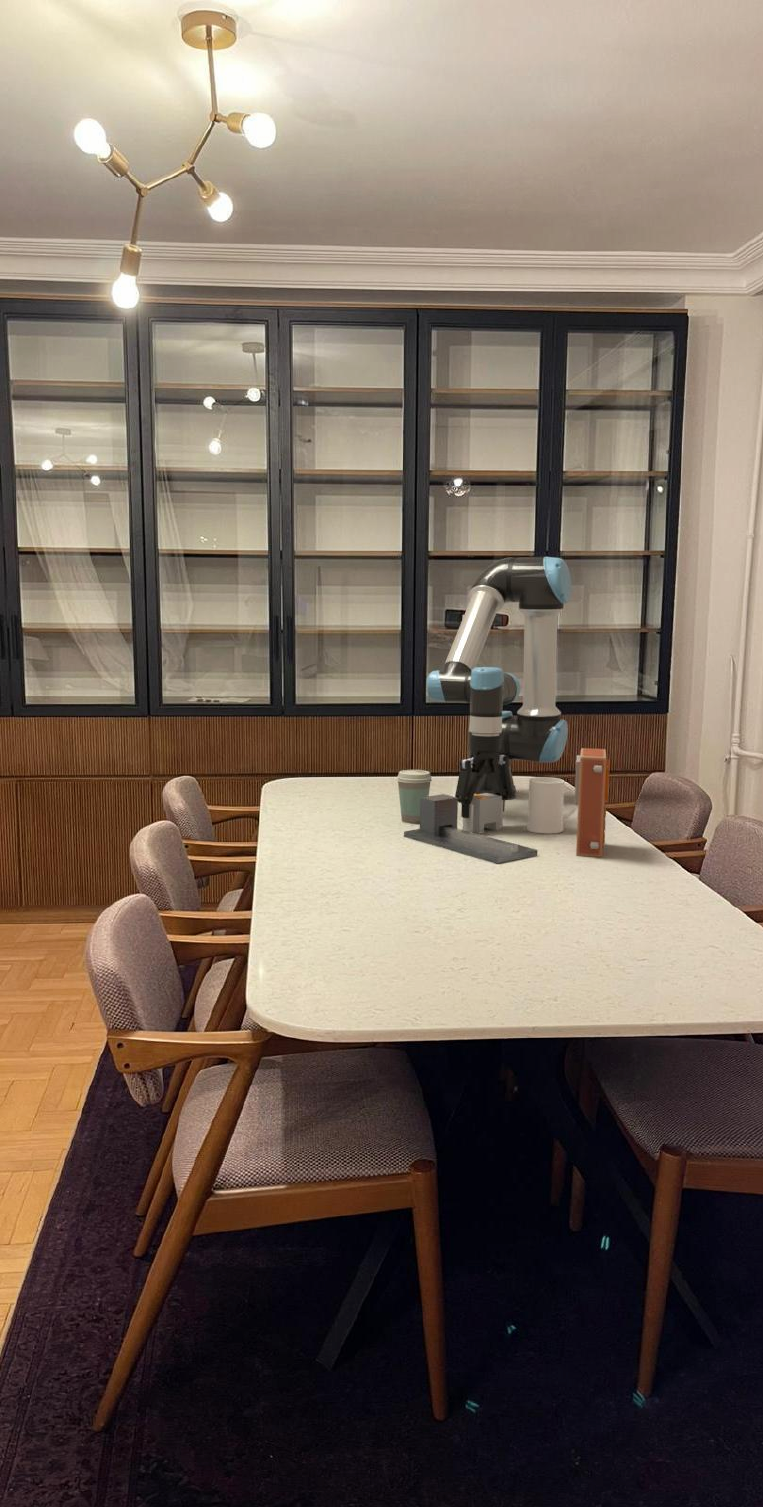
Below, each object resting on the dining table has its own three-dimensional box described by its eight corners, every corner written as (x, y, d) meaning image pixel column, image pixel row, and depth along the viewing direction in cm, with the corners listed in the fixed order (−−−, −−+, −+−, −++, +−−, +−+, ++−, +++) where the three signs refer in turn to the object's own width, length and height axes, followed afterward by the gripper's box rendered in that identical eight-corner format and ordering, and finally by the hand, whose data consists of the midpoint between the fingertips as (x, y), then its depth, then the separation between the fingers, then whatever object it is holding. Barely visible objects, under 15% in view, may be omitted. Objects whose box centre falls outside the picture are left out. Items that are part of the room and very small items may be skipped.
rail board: (403, 836, 237) (404, 796, 235) (443, 829, 244) (444, 791, 243) (497, 863, 214) (498, 819, 212) (537, 855, 221) (538, 812, 220)
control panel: (604, 842, 233) (605, 858, 219) (573, 840, 235) (571, 856, 220) (609, 748, 230) (609, 758, 215) (576, 747, 231) (575, 757, 217)
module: (464, 829, 245) (465, 794, 244) (486, 825, 249) (486, 791, 248) (479, 833, 241) (480, 797, 240) (500, 829, 245) (501, 794, 244)
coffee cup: (431, 824, 250) (432, 775, 248) (396, 824, 250) (396, 774, 248) (430, 817, 258) (431, 769, 256) (396, 816, 258) (396, 769, 257)
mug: (574, 826, 249) (576, 777, 248) (579, 834, 241) (581, 783, 239) (525, 825, 250) (526, 776, 248) (528, 833, 241) (530, 782, 240)
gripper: (506, 729, 251) (504, 820, 255) (439, 735, 238) (437, 831, 241) (529, 732, 246) (526, 825, 249) (462, 739, 232) (459, 837, 235)
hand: (482, 828), depth 245 cm, fingers open, 9 cm apart
